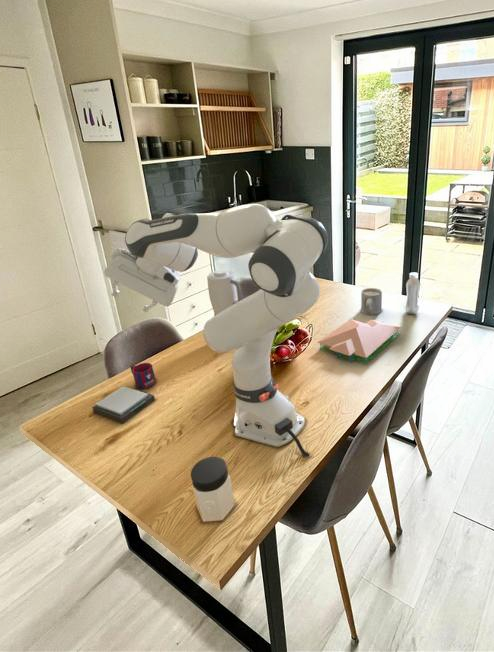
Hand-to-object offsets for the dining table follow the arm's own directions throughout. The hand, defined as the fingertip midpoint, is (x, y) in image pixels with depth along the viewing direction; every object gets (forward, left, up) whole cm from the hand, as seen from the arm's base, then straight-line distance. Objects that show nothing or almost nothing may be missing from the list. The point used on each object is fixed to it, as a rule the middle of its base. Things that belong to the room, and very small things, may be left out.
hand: (129, 303), depth 118 cm
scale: (+9, +5, -38) cm, 39 cm away
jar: (-47, +17, -38) cm, 62 cm away
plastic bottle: (-47, -112, -37) cm, 127 cm away
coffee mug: (-29, -103, -38) cm, 114 cm away
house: (-39, -72, -38) cm, 90 cm away
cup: (+16, -7, -38) cm, 42 cm away
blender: (+9, -46, -38) cm, 60 cm away
